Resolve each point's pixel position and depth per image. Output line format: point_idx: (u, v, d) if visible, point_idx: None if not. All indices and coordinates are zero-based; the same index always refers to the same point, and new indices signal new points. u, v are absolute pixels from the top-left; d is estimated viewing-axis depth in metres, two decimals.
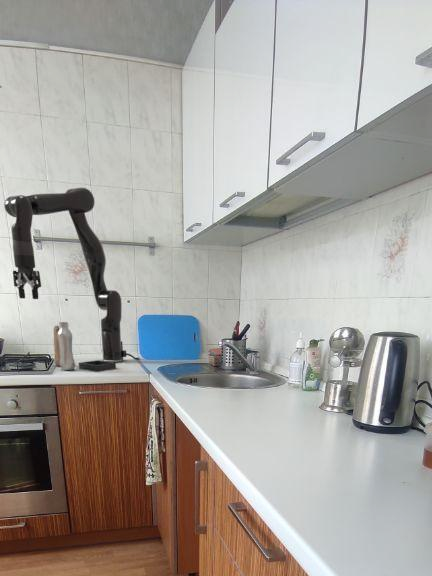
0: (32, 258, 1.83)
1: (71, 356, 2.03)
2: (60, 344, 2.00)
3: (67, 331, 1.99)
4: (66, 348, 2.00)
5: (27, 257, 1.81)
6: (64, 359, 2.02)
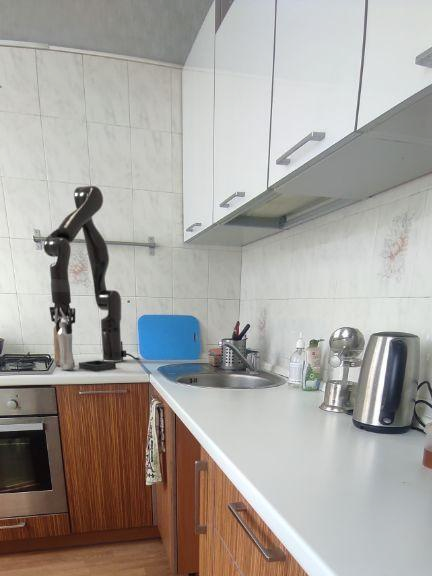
0: (68, 294, 1.94)
1: (71, 356, 2.03)
2: (60, 344, 2.00)
3: None
4: (66, 348, 2.00)
5: (64, 294, 1.92)
6: (64, 359, 2.02)
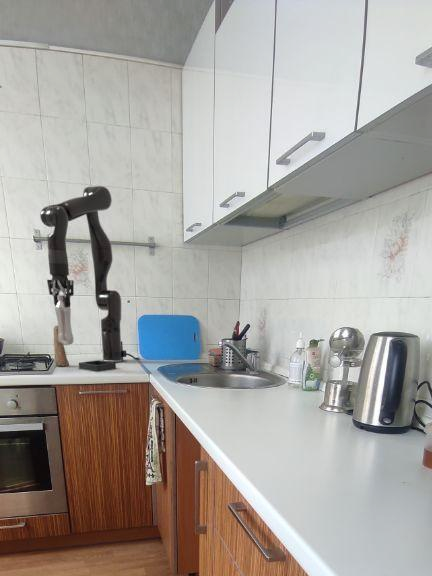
0: (66, 266, 1.89)
1: (69, 330, 1.99)
2: (58, 318, 1.96)
3: None
4: (64, 322, 1.96)
5: (62, 265, 1.88)
6: (62, 333, 1.98)
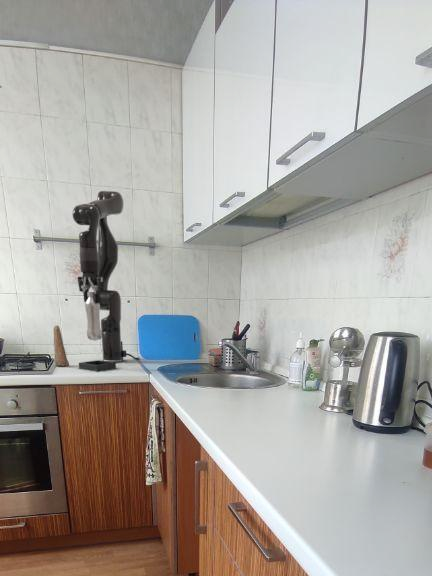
0: (97, 263, 1.95)
1: (98, 326, 2.04)
2: (88, 314, 2.01)
3: None
4: (94, 318, 2.02)
5: (93, 263, 1.93)
6: (92, 329, 2.03)
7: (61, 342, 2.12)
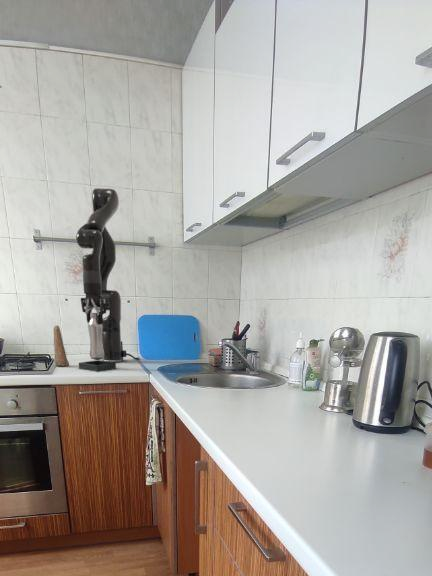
0: (100, 285, 1.98)
1: (101, 346, 2.08)
2: (91, 334, 2.05)
3: None
4: (96, 338, 2.05)
5: (96, 285, 1.97)
6: (94, 349, 2.06)
7: (61, 342, 2.12)
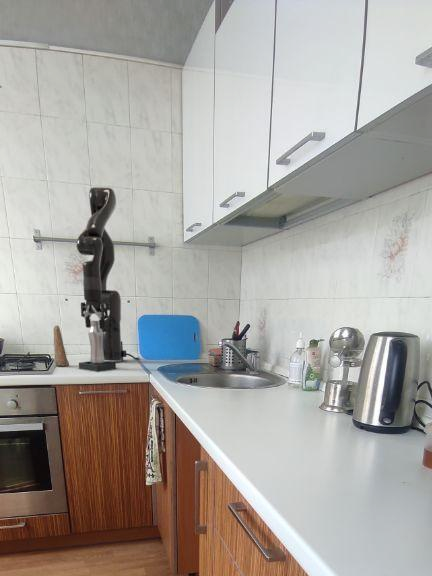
0: (100, 292, 1.99)
1: (102, 354, 2.09)
2: (91, 342, 2.06)
3: (98, 329, 2.05)
4: (97, 346, 2.06)
5: (96, 291, 1.97)
6: (95, 357, 2.08)
7: (61, 342, 2.12)
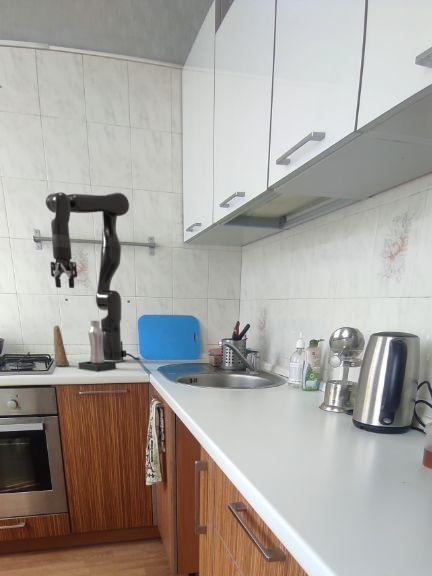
0: (69, 250, 1.99)
1: (102, 354, 2.09)
2: (91, 342, 2.06)
3: (98, 329, 2.05)
4: (97, 346, 2.06)
5: (65, 249, 1.97)
6: (95, 357, 2.08)
7: (61, 342, 2.12)
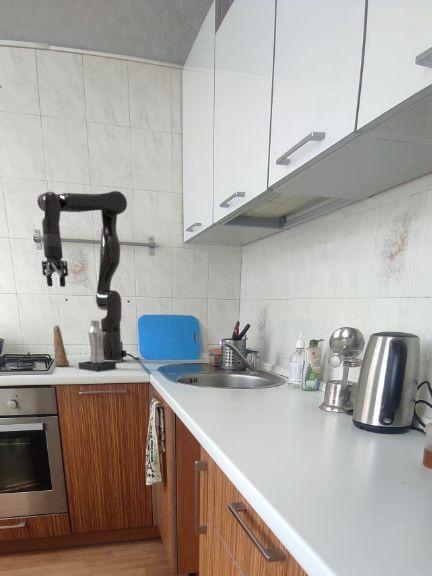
0: (60, 249, 2.01)
1: (102, 354, 2.09)
2: (91, 342, 2.06)
3: (98, 329, 2.05)
4: (97, 346, 2.06)
5: (56, 248, 1.99)
6: (95, 357, 2.08)
7: (61, 342, 2.12)
